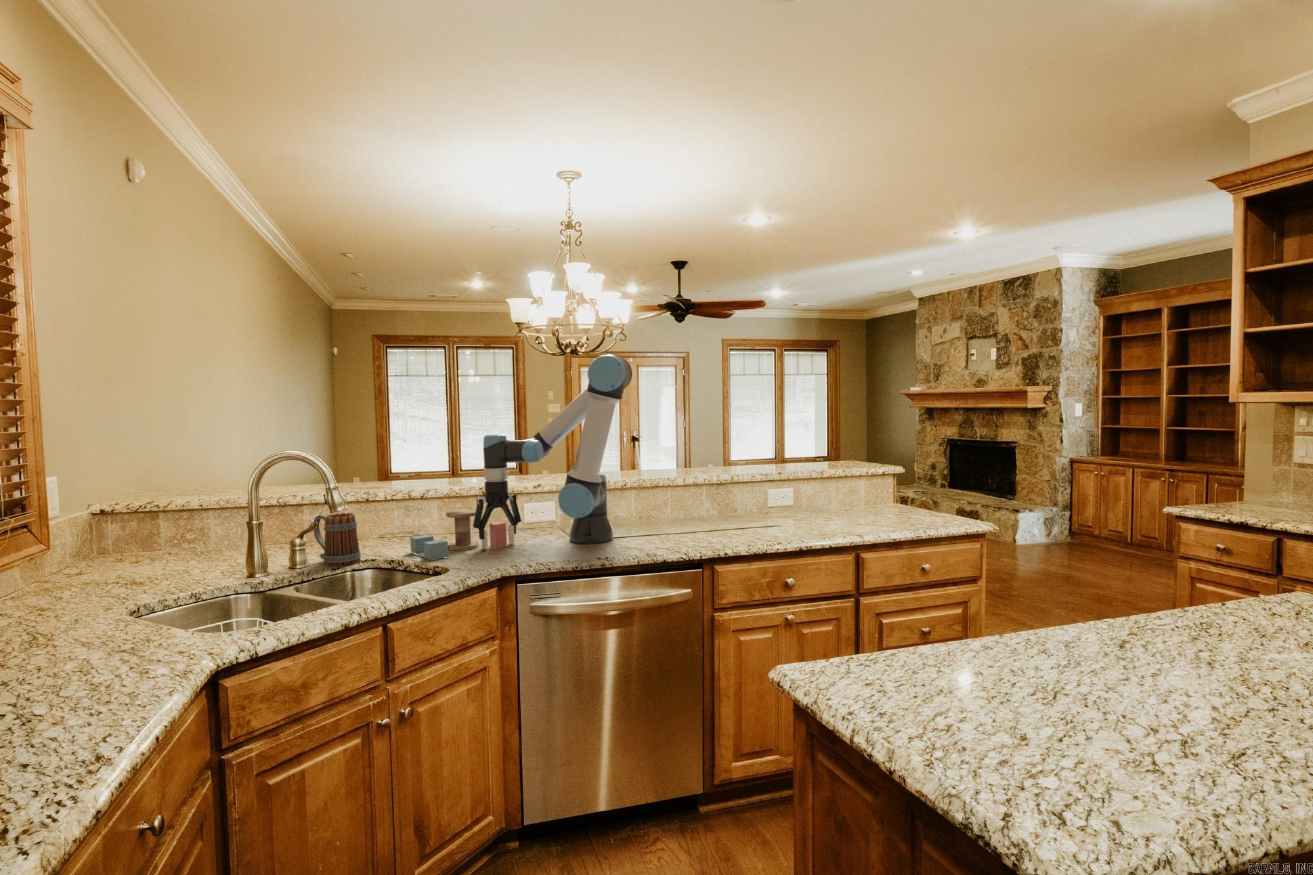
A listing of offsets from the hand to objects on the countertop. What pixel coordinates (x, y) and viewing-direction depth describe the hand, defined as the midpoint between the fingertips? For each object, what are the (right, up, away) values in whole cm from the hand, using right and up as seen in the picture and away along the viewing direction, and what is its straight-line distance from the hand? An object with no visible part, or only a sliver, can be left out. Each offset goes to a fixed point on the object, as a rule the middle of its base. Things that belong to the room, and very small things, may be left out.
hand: (498, 546), depth 229 cm
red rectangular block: (0, 0, 0) cm, 0 cm away
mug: (-47, -3, -17) cm, 50 cm away
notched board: (-20, -1, -10) cm, 22 cm away
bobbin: (-12, 0, 0) cm, 12 cm away
